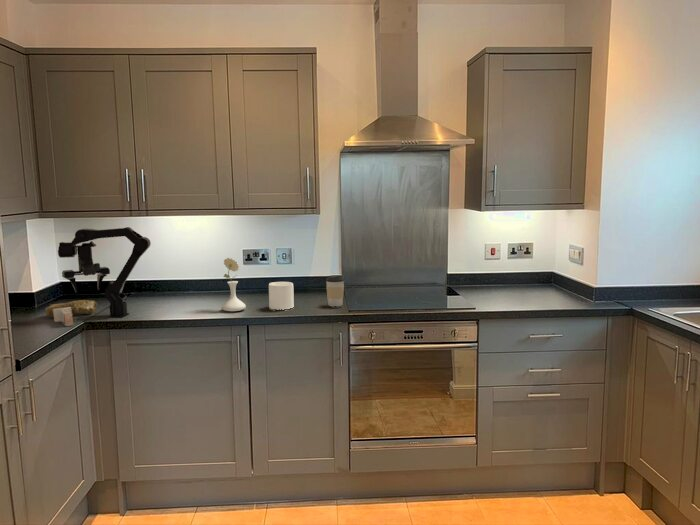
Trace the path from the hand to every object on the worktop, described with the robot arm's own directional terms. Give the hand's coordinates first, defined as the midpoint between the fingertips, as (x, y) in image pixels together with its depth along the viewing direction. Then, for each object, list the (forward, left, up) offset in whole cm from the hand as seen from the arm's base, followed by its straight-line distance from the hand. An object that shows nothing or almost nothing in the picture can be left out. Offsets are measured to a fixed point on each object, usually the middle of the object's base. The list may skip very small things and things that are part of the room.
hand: (87, 291), depth 248 cm
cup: (-82, -28, -12) cm, 88 cm away
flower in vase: (-60, -21, -12) cm, 65 cm away
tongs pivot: (+8, +7, -12) cm, 16 cm away
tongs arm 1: (+3, +12, -12) cm, 17 cm away
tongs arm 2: (+2, +12, -12) cm, 17 cm away
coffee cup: (-107, -36, -12) cm, 114 cm away
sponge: (+11, -3, -12) cm, 17 cm away
